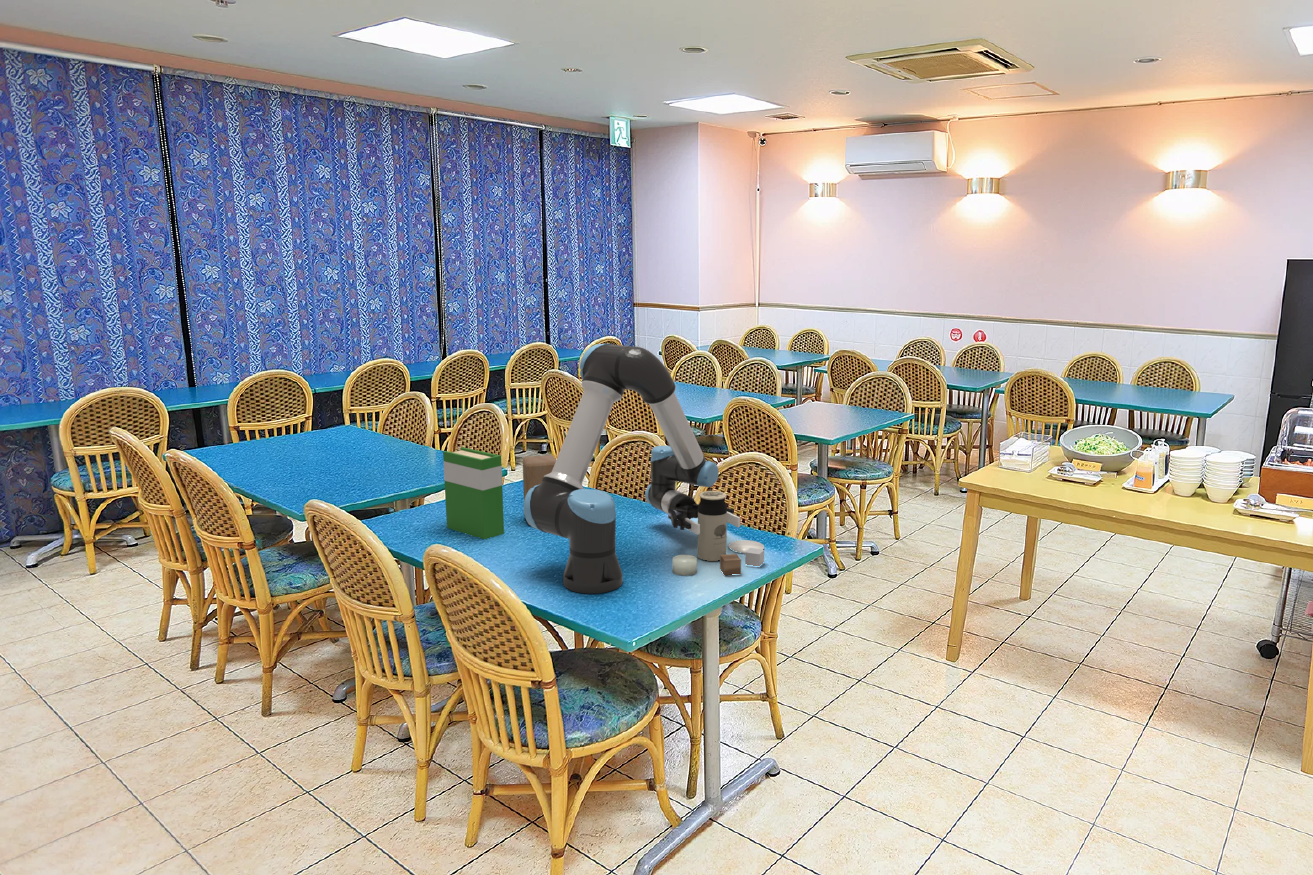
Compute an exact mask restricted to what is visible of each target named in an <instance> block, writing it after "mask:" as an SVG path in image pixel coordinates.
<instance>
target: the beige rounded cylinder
mask: <svg viewBox="0 0 1313 875" xmlns="http://www.w3.org/2000/svg"><path fill="white" fill-rule="evenodd" d="M697 572H698V557H696V556H694V555H691V554H679V555H675V556H673V557H672V573H673V574H674V575H676V576H681V577H682V576H684V577H686V576H687V575H690V576H694V575H695V574H697ZM687 577H688V576H687Z"/></svg>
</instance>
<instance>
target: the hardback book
mask: <svg viewBox="0 0 1313 875" xmlns="http://www.w3.org/2000/svg"><path fill="white" fill-rule="evenodd" d="M459 448H460V450H456V451H452V452H451V451H447V450H444V451H442V455H443V456H442V457H443V458H442V460H443V478H444V497H445V498H444V500H445V514H446V528H447V529H449V530H453V531H455V532H459V533H462V532H463V533H462V534H465V533H466V535H467V536H468V535H469V536H471V535H472V536H471V537H474V536H475V537H474V538H477V537H480V538H479V539H481V538H482V539H481V540H484V539H486V540H488V539H487V538H489V539H491V538H490V537H492V538H494V537H497V536H500V535H501V536H502V535H504V534H505V521H504V520H505V519H504V494H503V472H502V471H503V468H502V455H500V454H495V453H491V452H488V451H487V452H486V451H482V450H477V449H472V448H468V447H463V446H461V447H459Z"/></svg>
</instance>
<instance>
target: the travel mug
mask: <svg viewBox="0 0 1313 875" xmlns="http://www.w3.org/2000/svg"><path fill="white" fill-rule="evenodd" d="M698 496H699V499H700V501H699V503H698V518H697V523H698V524H700V534H698V535H697V552H696V553H697V555H696V556H697V558H699V559H700V560H702V559H703V560H702V561H705V560H707V561H706V562H719V561H718V560H720V555H727V538H728V536H727V535H728V534H727V531H728V530H727V529H728V522H727V508H728V505H727V503H726V497H727V494H726V493H725V492H723V491H720V490H719V491H718V490H706V491H705V490H704V491H702V492H700V493H699V494H698Z"/></svg>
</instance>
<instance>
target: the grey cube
mask: <svg viewBox="0 0 1313 875" xmlns="http://www.w3.org/2000/svg"><path fill="white" fill-rule="evenodd" d="M744 556H745V557H744V558H745V560H744V561H745V562H744V563H745V564H747V565H753V566H760V565H761V564H763V562H764V563H765V549H764V550H762V549H755V548H749V549H748V550H747V551H746V552H745V554H744ZM745 564H744V565H745ZM763 565H764V564H763Z"/></svg>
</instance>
